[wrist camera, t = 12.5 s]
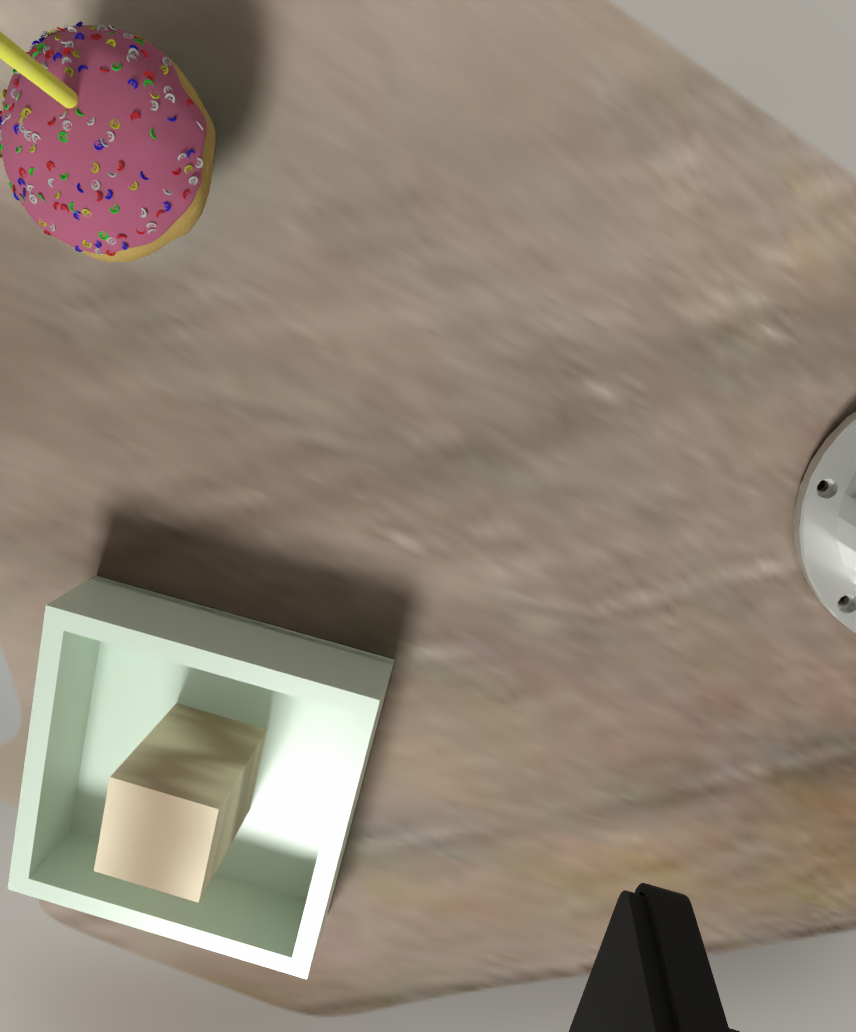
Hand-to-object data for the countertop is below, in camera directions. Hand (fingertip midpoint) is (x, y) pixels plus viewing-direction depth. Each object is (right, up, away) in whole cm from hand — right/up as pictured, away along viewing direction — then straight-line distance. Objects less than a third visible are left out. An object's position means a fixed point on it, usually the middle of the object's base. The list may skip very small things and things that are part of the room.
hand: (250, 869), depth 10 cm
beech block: (-9, -8, +32) cm, 34 cm away
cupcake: (-10, +20, +26) cm, 34 cm away
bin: (-9, -8, +32) cm, 34 cm away
